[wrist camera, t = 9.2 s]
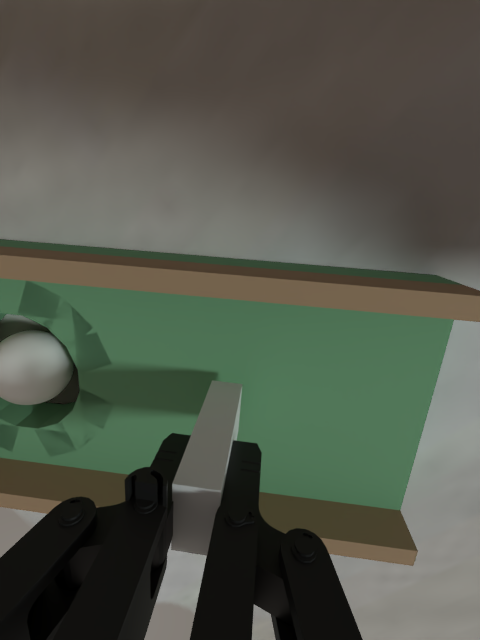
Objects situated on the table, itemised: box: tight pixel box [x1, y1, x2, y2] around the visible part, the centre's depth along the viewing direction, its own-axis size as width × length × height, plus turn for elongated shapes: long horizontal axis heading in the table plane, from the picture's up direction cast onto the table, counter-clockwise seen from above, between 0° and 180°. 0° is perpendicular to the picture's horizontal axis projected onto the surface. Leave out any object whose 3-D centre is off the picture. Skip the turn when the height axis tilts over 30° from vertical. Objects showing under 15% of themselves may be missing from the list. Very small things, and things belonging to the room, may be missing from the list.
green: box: [0, 239, 480, 566], centre depth 18 cm, size 14×28×5 cm, turn 86°
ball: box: [0, 330, 74, 405], centre depth 19 cm, size 4×4×4 cm
